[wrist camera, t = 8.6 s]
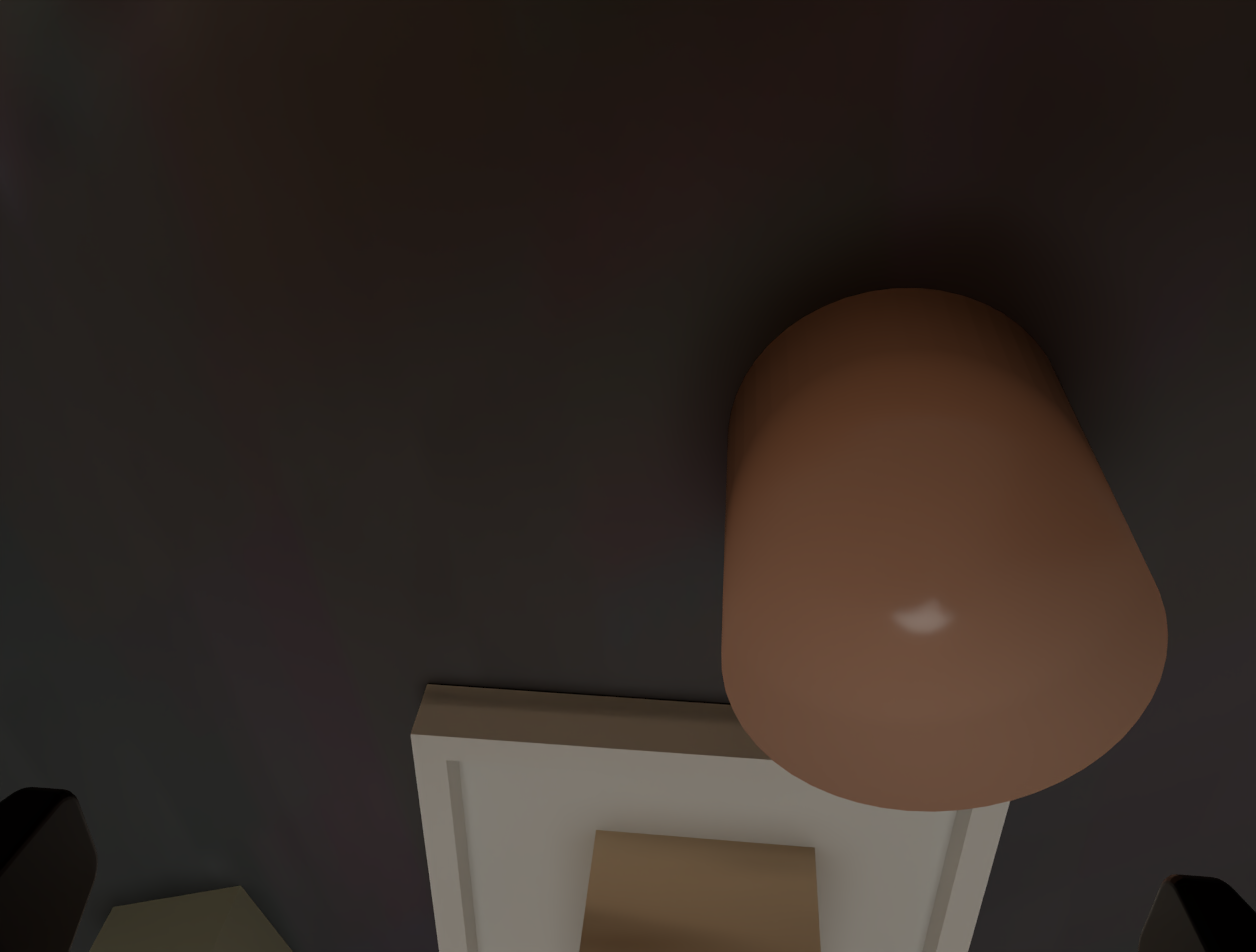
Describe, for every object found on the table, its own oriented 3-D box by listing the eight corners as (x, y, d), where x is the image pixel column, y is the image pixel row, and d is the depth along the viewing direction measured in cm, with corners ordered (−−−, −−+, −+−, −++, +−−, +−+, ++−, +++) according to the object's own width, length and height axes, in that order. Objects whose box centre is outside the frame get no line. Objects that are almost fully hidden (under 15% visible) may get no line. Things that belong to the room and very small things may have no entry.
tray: (1002, 723, 24) (1016, 777, 23) (916, 1052, 31) (923, 1108, 30) (427, 683, 25) (410, 734, 24) (465, 1013, 32) (454, 1065, 31)
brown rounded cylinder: (1099, 295, 19) (1225, 497, 14) (1028, 579, 22) (1109, 825, 17) (737, 279, 20) (733, 470, 15) (719, 561, 23) (711, 796, 18)
